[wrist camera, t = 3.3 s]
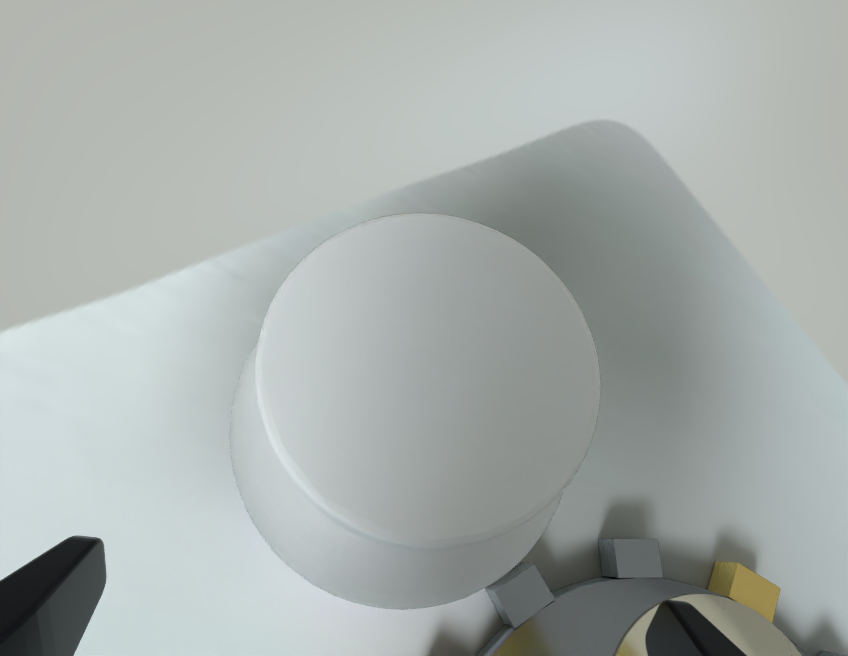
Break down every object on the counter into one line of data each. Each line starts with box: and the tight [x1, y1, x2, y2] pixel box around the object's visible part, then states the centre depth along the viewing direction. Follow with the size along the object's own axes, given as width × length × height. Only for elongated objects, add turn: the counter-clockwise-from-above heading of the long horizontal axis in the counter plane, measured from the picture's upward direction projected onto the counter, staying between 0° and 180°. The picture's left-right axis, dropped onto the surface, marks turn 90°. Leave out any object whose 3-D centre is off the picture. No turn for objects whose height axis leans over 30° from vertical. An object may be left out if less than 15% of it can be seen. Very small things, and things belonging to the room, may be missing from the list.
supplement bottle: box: [230, 213, 601, 610], centre depth 13 cm, size 7×7×13 cm
